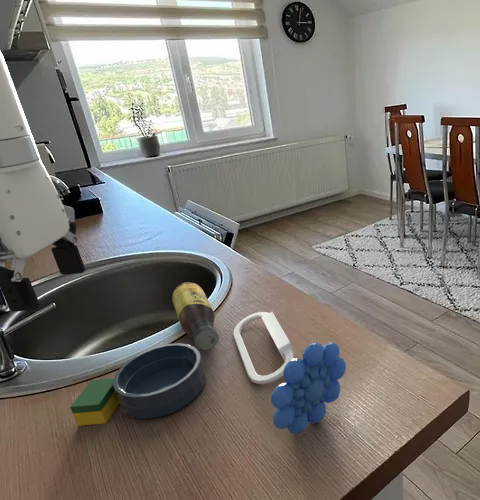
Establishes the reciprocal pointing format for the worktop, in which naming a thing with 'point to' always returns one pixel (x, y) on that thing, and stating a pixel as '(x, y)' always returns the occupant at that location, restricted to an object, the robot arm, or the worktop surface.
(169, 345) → the bowl
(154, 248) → the worktop surface
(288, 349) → the oval loop handle
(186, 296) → the sauce bottle
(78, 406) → the sponge
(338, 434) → the worktop surface
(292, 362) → the blue flower ornament
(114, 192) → the worktop surface
